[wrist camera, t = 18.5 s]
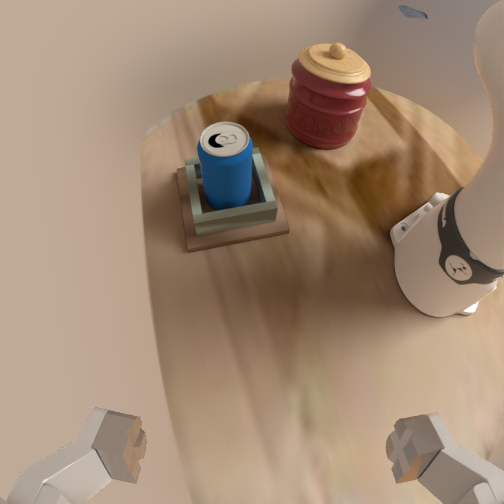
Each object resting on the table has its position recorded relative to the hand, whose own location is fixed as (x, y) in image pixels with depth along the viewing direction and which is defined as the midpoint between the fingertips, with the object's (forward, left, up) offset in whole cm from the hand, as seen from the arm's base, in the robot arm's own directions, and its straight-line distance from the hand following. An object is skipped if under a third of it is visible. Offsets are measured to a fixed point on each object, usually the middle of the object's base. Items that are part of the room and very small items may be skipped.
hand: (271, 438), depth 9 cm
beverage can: (-16, -23, -29) cm, 40 cm away
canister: (-40, -25, -30) cm, 55 cm away
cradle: (-17, -23, -29) cm, 41 cm away
